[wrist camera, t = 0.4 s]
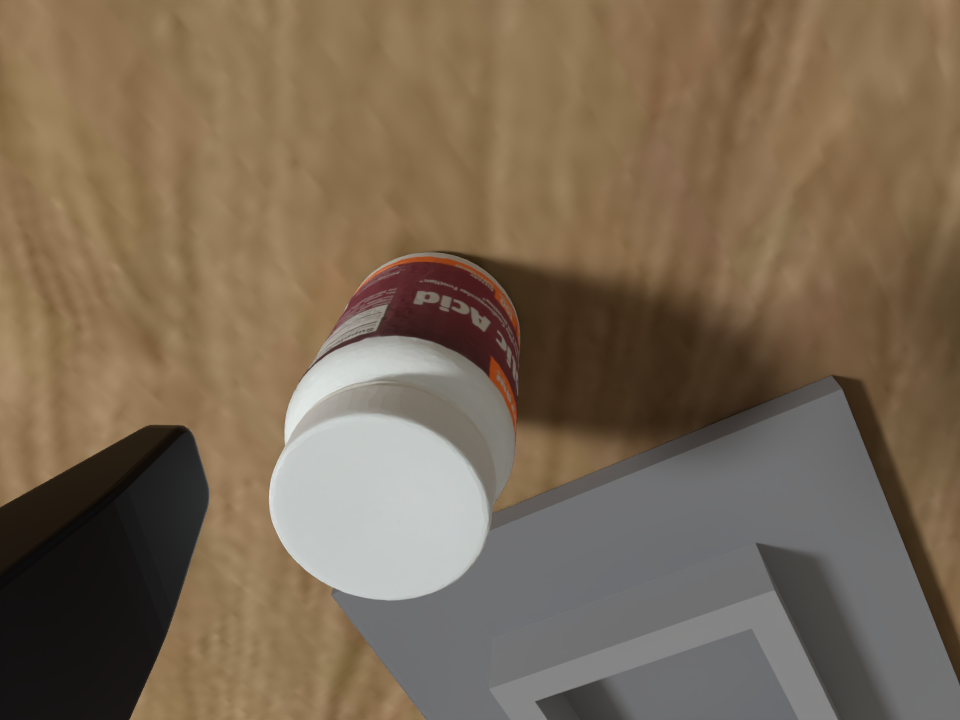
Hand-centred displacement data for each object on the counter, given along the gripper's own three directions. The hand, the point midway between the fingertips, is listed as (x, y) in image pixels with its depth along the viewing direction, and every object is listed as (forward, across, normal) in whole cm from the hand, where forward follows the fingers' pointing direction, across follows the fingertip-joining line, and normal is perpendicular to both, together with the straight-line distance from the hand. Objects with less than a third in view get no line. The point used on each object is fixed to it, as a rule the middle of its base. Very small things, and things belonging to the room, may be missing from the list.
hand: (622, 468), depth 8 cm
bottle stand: (+11, -3, +17) cm, 21 cm away
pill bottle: (+12, +4, +5) cm, 14 cm away
